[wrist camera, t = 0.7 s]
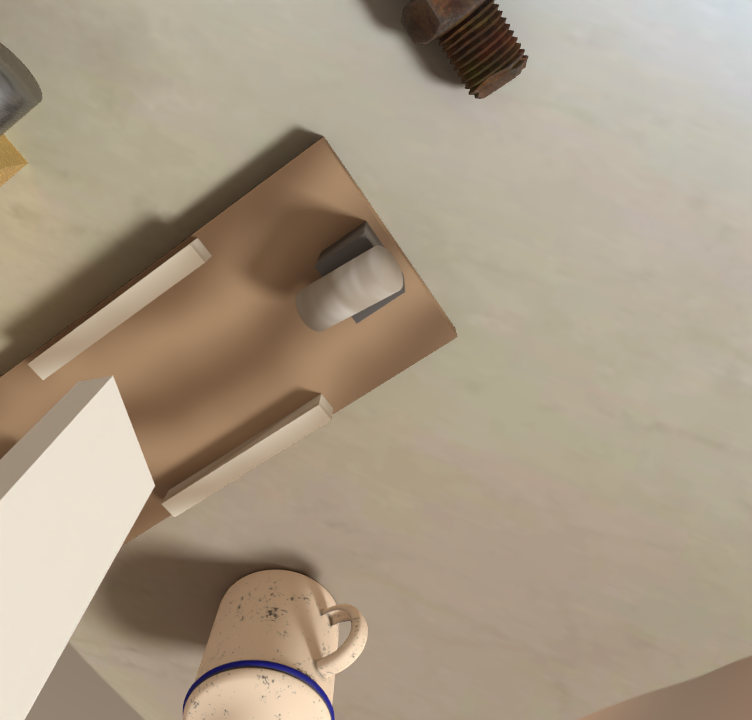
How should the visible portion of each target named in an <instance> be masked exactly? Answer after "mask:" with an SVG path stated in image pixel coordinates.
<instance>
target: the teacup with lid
mask: <svg viewBox="0 0 752 720" xmlns="http://www.w3.org/2000/svg"><path fill="white" fill-rule="evenodd" d="M345 621H351V631H350V634H349V636H348V638H347V640H346V641H345V642H344V643H343V645H342V646H341V647H340V648H338V649H337V646H338V635H339V624H340V623H341V622H345ZM367 635H368V629H367V624H366V621H365V619H364V617H363V616H362V614H361V613H360V612H359V611H358V610H357V609H356V608H355V607H354V606H352V605H349V604H339V605H336V604H335V601H334V600H333V598H332V596H331V595H330V594H329V593H328V591H327V590H326V589H325V588H324V587H322V586H321V585H320V584H319V583H317V582H316V581H314V580H313V579H311V578H309V577H307V576H305V575H302V574H299V573H296V572H292V571H287V570H264V571H259V572H255V573H252V574H249V575H247V576H245V577H243V578H241V579H240V580H238V581H237V582H235V583H234V584H233V585H232V586H231V587H230V588H229V589H228V590H227V592H226V593H225V595H224V596H223V598H222V600H221V603H220V606H219V609H218V612H217V615H216V618H215V621H214V624H213V627H212V630H211V634H210V637H209V640H208V643H207V646H206V649H205V652H204V655H203V658H202V661H201V664H200V667H199V670H198V673H197V676H196V680H195V682H194V684H193V685H192V686H191V688H190V689H189V691H188V693H187V695H186V697H185V700H184V704H183V720H335V719H334V711H333V707H332V701H333V690H334V679H335V674H336V673H338V672H340V671H342V670H344V669H345V668H347V667H348V666H349V665H351V664H352V663H353V662H354V661H355V660H356V659H357V657H358V656H359V655H360V653H361V652H362V650H363V649H364V647H365V644H366V641H367Z"/></svg>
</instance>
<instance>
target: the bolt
mask: <svg viewBox="0 0 752 720" xmlns="http://www.w3.org/2000/svg"><path fill="white" fill-rule="evenodd" d="M493 3H494V0H412V1H411V2H410V3H409V4H408V5H406V6H405V7H404V8H403V13H402V20H401V22H402V24H403V25H404V27H405V29H406V30H407V32H408V33H409V35H410V37H411V38H412V40H413V41H414V43H419V44H424V45H426V44H428V43H429V42H431V41H432V40H434V39H440V43H439V45H444V48H443V52H448V53H447V58H451V61H450V64H455V66H454V70H459V72H458V77H463V78H462V83H466V86H465V88H466V89H470V91H469V95H474V96H475V98H478V99H481V98H485V97H486V96H488V95H490V94H491V93H493V92H494V91H496V90H497V89H499V88H500V87H502V86H503V85H505V84H506V83H508V82H509V81H511V80H512V79H514V78H515V77H516V76H518V75H519V74H520V73H521V70H522V69H524V68H525V67H526V62H527V59H528V56H527V55H523V54H524V51H525V50H524V49H520V47H521V44H520V43H516V41H517V37H513V36H512V35H513V33H514V31H512V30H509V27H510V24H505V21H506V19H507V18H503V17H501V15H502V12H503V11H498V10H497V9H498V7H499V5H498V4H493Z"/></svg>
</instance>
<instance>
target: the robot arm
mask: <svg viewBox="0 0 752 720" xmlns="http://www.w3.org/2000/svg"><path fill="white" fill-rule="evenodd" d="M154 487H155V484H154V482H153V479H152V476H151V474H150V471H149V469H148V466H147V463H146V461H145V458H144V455H143V453H142V450H141V448H140V445H139V442H138V440H137V437H136V435H135V432H134V429H133V427H132V424H131V421H130V419H129V416H128V414H127V411H126V408H125V406H124V403H123V400H122V398H121V395H120V393H119V390H118V387H117V385H116V382H115V380H114V377H113V376H108V377H102V378H96V379H91V380H85V381H79V382H77V383H76V384H75V385H74V386H73V387H72V388H71V389H70V390H69V391H68V392H67V393H66V394H65V395H64V396H63V397H62V398H61V399H60V400H59V401H58V402H57V403H56V404H55V405H54V406H53V407H52V408H51V409H50V410H49V411H48V412H47V413H46V414H45V415H44V416H43V417H42V418H41V419H40V420H39V421H38V422H37V423H36V424H35V425H34V426H33V427H32V428H31V429H30V430H29V431H28V432H27V433H26V434H25V435H24V436H23V437H22V438H21V439H20V440H19V441H18V442H17V443H16V444H15V445H14V446H13V447H12V448H11V449H10V450H9V451H8V452H7V454H6V455H5V456H4V457H3V458H2V459H1V460H0V720H25V718H26V716H27V714H28V713H29V711H30V709H31V707H32V705H33V704H34V702H35V700H36V698H37V697H38V695H39V693H40V691H41V689H42V687H43V686H44V684H45V682H46V680H47V679H48V677H49V675H50V673H51V671H52V670H53V668H54V666H55V664H56V662H57V660H58V659H59V657H60V655H61V654H62V652H63V650H64V648H65V646H66V644H67V643H68V641H69V639H70V637H71V636H72V634H73V632H74V630H75V628H76V627H77V625H78V623H79V621H80V619H81V618H82V616H83V614H84V612H85V610H86V609H87V607H88V605H89V603H90V602H91V600H92V598H93V596H94V594H95V593H96V591H97V589H98V587H99V585H100V584H101V582H102V580H103V578H104V576H105V575H106V573H107V571H108V569H109V567H110V566H111V564H112V562H113V560H114V559H115V557H116V555H117V553H118V551H119V550H120V548H121V546H122V544H123V542H124V541H125V539H126V537H127V535H128V533H129V532H130V530H131V528H132V526H133V524H134V523H135V521H136V519H137V517H138V515H139V514H140V512H141V510H142V508H143V507H144V505H145V503H146V501H147V499H148V498H149V496H150V494H151V492H152V490H153V489H154Z"/></svg>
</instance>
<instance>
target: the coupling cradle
mask: <svg viewBox="0 0 752 720" xmlns="http://www.w3.org/2000/svg"><path fill="white" fill-rule="evenodd" d="M456 337H457V333H456V330H455V327H454V326H453V324H452V323H451V321H450V320H449V318H448V317H447V316H446V314H445V313H444V311H443V310H442V308H441V307H440V305H439V304H438V302H437V301H436V300H435V298H434V297H433V295H432V294H431V292H430V291H429V289H428V288H427V286H426V285H425V283H424V282H423V281H422V279H421V278H420V276H419V275H418V273H417V272H416V270H415V269H414V267H413V266H412V264H411V263H410V262H409V260H408V259H407V257H406V256H405V254H404V253H403V251H402V250H401V248H400V247H399V246H398V244H397V243H396V241H395V240H394V238H393V237H392V235H391V234H390V232H389V231H388V229H387V228H386V227H385V225H384V224H383V222H382V221H381V219H380V218H379V216H378V215H377V213H376V212H375V210H374V209H373V208H372V206H371V205H370V203H369V202H368V200H367V199H366V197H365V196H364V194H363V193H362V191H361V190H360V189H359V187H358V186H357V184H356V183H355V181H354V180H353V178H352V177H351V175H350V174H349V173H348V171H347V170H346V168H345V167H344V165H343V164H342V162H341V161H340V159H339V158H338V156H337V155H336V154H335V152H334V151H333V149H332V148H331V146H330V145H329V143H328V142H327V140H326V139H325V137H322V138H321V139H320V140H318V141H317V142H316V143H314V144H313V145H312V146H310V147H309V148H308V149H306V150H305V151H304V152H302V153H301V154H300V155H298V156H297V157H295V158H294V159H293V160H291V161H290V162H289V163H287V164H286V165H285V166H283V167H282V168H281V169H279V170H278V171H277V172H275V173H274V174H273V175H271V176H270V177H269V178H267V179H266V180H265V181H263V182H262V183H261V184H259V185H258V186H257V187H255V188H254V189H253V190H251V191H250V192H249V193H247V194H246V195H244V196H243V197H242V198H240V199H239V200H238V201H236V202H235V203H234V204H232V205H231V206H230V207H228V208H227V209H226V210H224V211H223V212H222V213H220V214H219V215H218V216H216V217H215V218H214V219H212V220H211V221H210V222H208V223H207V224H206V225H204V226H203V227H202V228H200V229H199V230H198V231H196V232H195V233H193V234H192V235H191V236H189V237H188V238H187V239H185V240H184V241H183V242H181V243H180V244H179V245H177V246H176V247H175V248H173V249H172V250H171V251H169V252H168V253H167V254H165V255H164V256H163V257H161V258H160V259H159V260H157V261H156V262H155V263H153V264H152V265H151V266H149V267H148V268H146V269H145V270H144V271H142V272H141V273H140V274H138V275H137V276H136V277H134V278H133V279H132V280H130V281H129V282H128V283H126V284H125V285H124V286H122V287H121V288H120V289H118V290H117V291H116V292H114V293H113V294H112V295H110V296H109V297H108V298H106V299H105V300H104V301H102V302H101V303H100V304H98V305H97V306H95V307H94V308H93V309H91V310H90V311H89V312H87V313H86V314H85V315H83V316H82V317H81V318H79V319H78V320H77V321H75V322H74V323H73V324H71V325H70V326H69V327H67V328H66V329H65V330H63V331H62V332H61V333H59V334H58V335H57V336H55V337H54V338H53V339H51V340H50V341H49V342H47V343H46V344H44V345H43V346H42V347H40V348H39V349H38V350H36V351H35V352H34V353H32V354H31V355H30V356H28V357H27V358H26V359H24V360H23V361H22V362H20V363H19V364H18V365H16V366H15V367H14V368H12V369H11V370H10V371H8V372H7V373H6V374H4V375H3V376H2V377H0V460H1V459H2V458H3V457H4V456H5V455H6V454H7V452H8V451H9V450H10V449H11V448H12V447H13V446H14V445H15V444H16V443H17V442H18V441H19V440H20V439H21V438H22V437H23V436H24V435H25V434H26V433H27V432H28V431H29V430H30V429H31V428H32V427H33V426H34V425H35V424H36V423H37V422H38V421H39V420H40V419H41V418H42V417H43V416H44V415H45V414H46V413H47V412H48V411H49V410H50V409H51V408H52V407H53V406H54V405H55V404H56V403H57V402H58V401H59V400H60V399H61V398H62V397H63V396H64V395H65V394H66V393H67V392H68V391H69V390H70V389H71V388H72V387H73V386H74V385H75V384H76V383H77V382H79V381H85V380H91V379H96V378H102V377H108V376H113V377H114V380H115V382H116V385H117V387H118V390H119V393H120V395H121V398H122V400H123V403H124V406H125V408H126V411H127V414H128V416H129V419H130V421H131V424H132V427H133V429H134V432H135V435H136V437H137V440H138V442H139V445H140V448H141V450H142V453H143V455H144V458H145V461H146V463H147V466H148V469H149V471H150V474H151V476H152V479H153V482H154V484H155V487H154V489H153V490H152V492H151V494H150V496H149V498H148V499H147V501H146V503H145V505H144V507H143V508H142V510H141V512H140V514H139V515H138V517H137V519H136V521H135V523H134V524H133V526H132V528H131V530H130V532H129V533H128V535H127V537H126V539H125V541H124V542H123V544H122V545H124V544H125V543H127V542H128V541H130V540H132V539H133V538H135V537H137V536H138V535H140V534H141V533H143V532H145V531H146V530H148V529H149V528H151V527H153V526H154V525H156V524H157V523H159V522H161V521H162V520H164V519H165V518H167V517H169V516H170V515H172V516H173V517H176V516H178V515H179V514H181V513H182V512H184V511H186V510H187V509H189V508H191V507H192V506H194V505H195V504H197V503H199V502H200V501H202V500H203V499H205V498H207V497H208V496H210V495H212V494H213V493H215V492H216V491H218V490H220V489H221V488H223V487H224V486H226V485H228V484H229V483H231V482H232V481H234V480H236V479H237V478H239V477H241V476H242V475H244V474H245V473H247V472H249V471H250V470H252V469H253V468H255V467H257V466H258V465H260V464H262V463H263V462H265V461H266V460H268V459H270V458H271V457H273V456H274V455H276V454H278V453H279V452H281V451H283V450H284V449H286V448H287V447H289V446H291V445H292V444H294V443H295V442H297V441H299V440H300V439H302V438H303V437H305V436H307V435H308V434H310V433H312V432H313V431H315V430H316V429H318V428H320V427H321V426H323V425H324V424H326V423H328V422H329V421H331V419H332V415H333V414H334V413H336V412H338V411H339V410H341V409H342V408H344V407H346V406H347V405H349V404H350V403H352V402H354V401H355V400H357V399H358V398H360V397H362V396H363V395H365V394H366V393H368V392H370V391H371V390H373V389H374V388H376V387H378V386H379V385H381V384H383V383H384V382H386V381H387V380H389V379H391V378H392V377H394V376H395V375H397V374H399V373H400V372H402V371H403V370H405V369H407V368H408V367H410V366H411V365H413V364H415V363H416V362H418V361H420V360H421V359H423V358H424V357H426V356H428V355H429V354H431V353H432V352H434V351H436V350H437V349H439V348H440V347H442V346H444V345H445V344H447V343H448V342H450V341H452V340H453V339H455V338H456Z"/></svg>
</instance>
